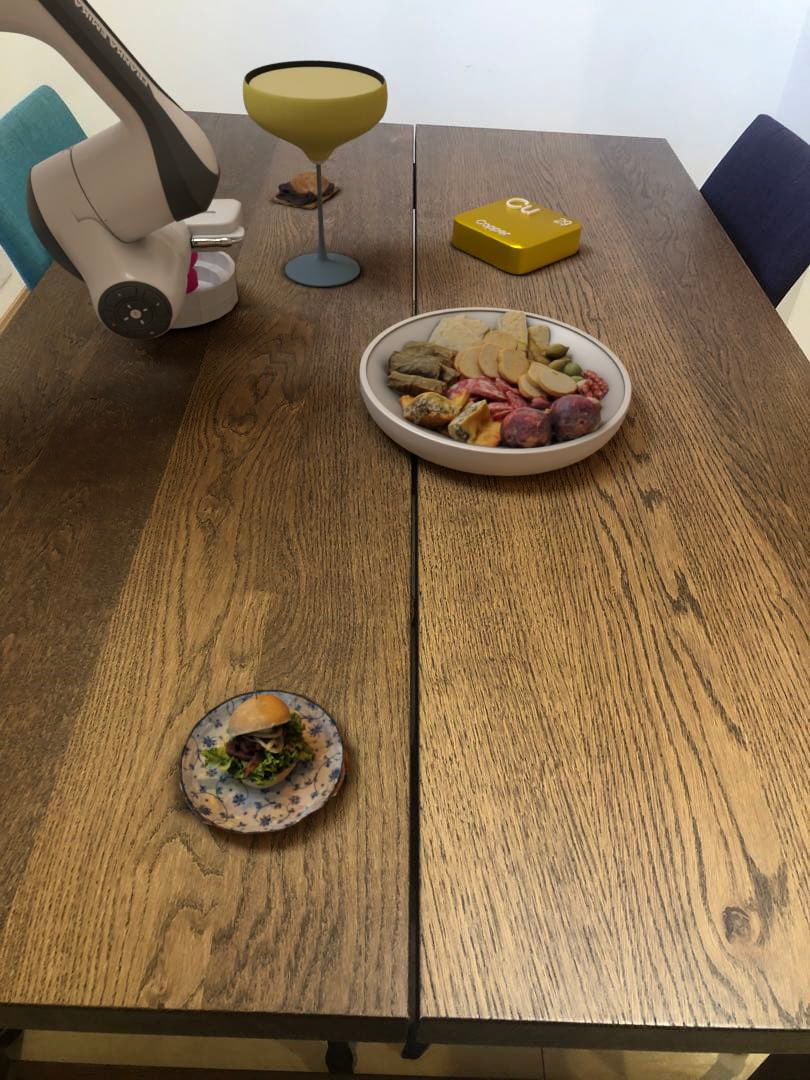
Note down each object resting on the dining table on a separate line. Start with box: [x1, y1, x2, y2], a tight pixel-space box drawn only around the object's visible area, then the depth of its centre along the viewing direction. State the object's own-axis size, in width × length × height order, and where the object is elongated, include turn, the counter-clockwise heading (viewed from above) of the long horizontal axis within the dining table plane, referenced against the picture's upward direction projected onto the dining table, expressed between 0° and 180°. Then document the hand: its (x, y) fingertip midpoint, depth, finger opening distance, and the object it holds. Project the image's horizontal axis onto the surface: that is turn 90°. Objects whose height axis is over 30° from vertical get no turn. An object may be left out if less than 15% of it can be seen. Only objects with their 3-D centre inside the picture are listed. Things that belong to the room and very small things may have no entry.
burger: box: [178, 676, 349, 835], centre depth 57 cm, size 12×12×8 cm
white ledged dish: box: [170, 251, 239, 329], centre depth 108 cm, size 16×16×5 cm
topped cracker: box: [272, 170, 339, 210], centre depth 138 cm, size 11×8×4 cm
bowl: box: [359, 306, 633, 477], centre depth 91 cm, size 30×30×8 cm
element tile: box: [451, 195, 583, 276], centre depth 125 cm, size 15×15×5 cm
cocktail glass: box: [242, 59, 389, 288], centre depth 110 cm, size 18×18×25 cm
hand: (161, 199), depth 101 cm, fingers closed on pepper mill, 4 cm apart
